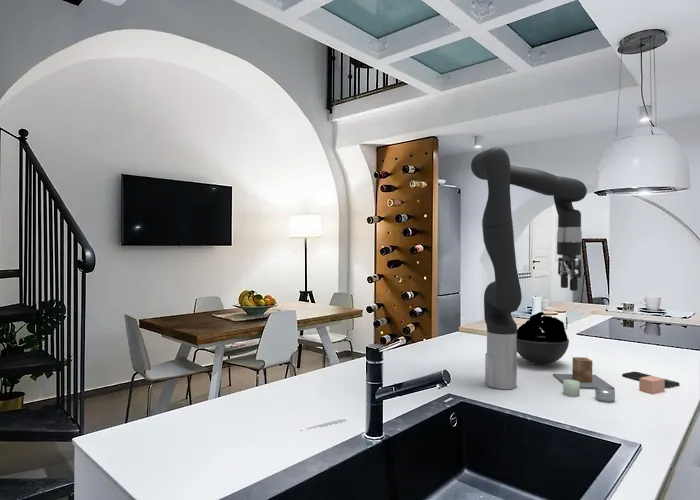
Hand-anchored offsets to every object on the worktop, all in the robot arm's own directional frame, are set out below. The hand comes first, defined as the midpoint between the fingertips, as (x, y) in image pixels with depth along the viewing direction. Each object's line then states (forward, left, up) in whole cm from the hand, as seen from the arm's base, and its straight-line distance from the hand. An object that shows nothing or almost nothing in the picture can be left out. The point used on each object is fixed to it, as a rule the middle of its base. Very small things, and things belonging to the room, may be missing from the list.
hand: (568, 289), depth 156 cm
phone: (+26, 0, -31) cm, 40 cm away
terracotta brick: (+21, -11, -30) cm, 38 cm away
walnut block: (+3, -4, -30) cm, 30 cm away
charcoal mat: (+3, -4, -30) cm, 31 cm away
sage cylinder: (-5, -17, -30) cm, 35 cm away
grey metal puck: (+3, -21, -30) cm, 37 cm away
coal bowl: (-4, +18, -30) cm, 35 cm away
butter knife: (-81, -52, -31) cm, 101 cm away
